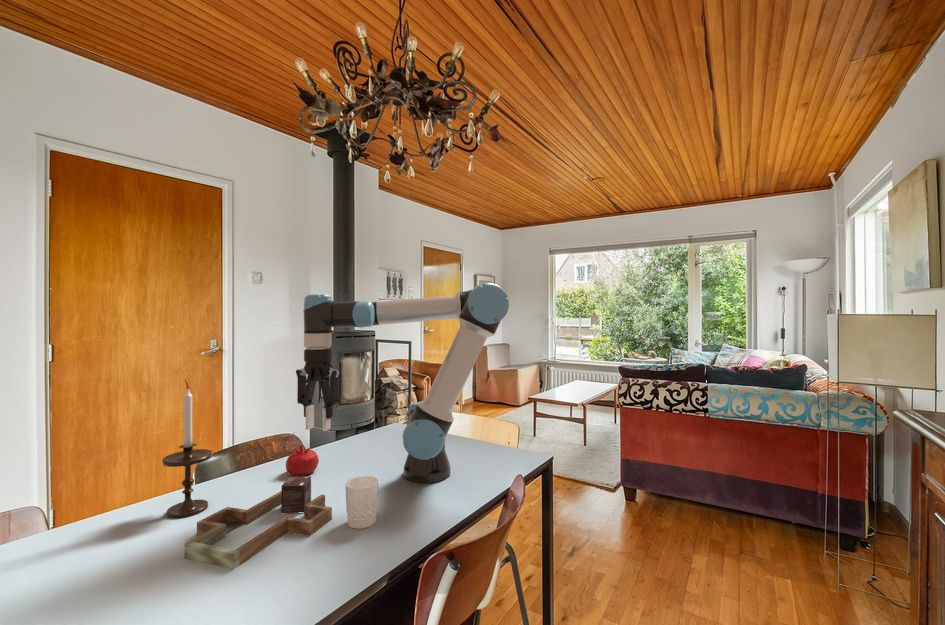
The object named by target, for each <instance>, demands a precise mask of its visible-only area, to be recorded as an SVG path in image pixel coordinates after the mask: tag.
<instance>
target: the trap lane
mask: <svg viewBox="0 0 945 625" xmlns="http://www.w3.org/2000/svg"><path fill="white" fill-rule="evenodd" d="M281 491H282V490H281ZM281 491H278V492H277V493H275V494H273V495H271V496H269V497H268V498H266V499H264V500H262V501H261V502H259V503H256V504H255V505H253V506H251V507H250V508H248V509H244V508H238V507H237V508H236V507H231V506H226V507H224V508H222V509H220V510H218V511H216V512H214V513H212V514H210V515H208V516H206V517H203V518H202V519H200V520H199V521H196V537H194V538H193V539H191V540H189V541H187V542H186V543H184V547H183V548H184V552H183V553H184V560H185V559H186V560H191V561H195V562H200V563H205V564H210V565H215V566H220V567H223V568H227V569H228V568H229V569H234V570H235V569H237V568H238V567H240V566H241V565H243V564H244V563H246V562H247V561H248V560H250V559H251V558H253V557H254V556H256V555H257V554H259V553H260V552H262V551H263V550H265V549H266V548H267V547H269V546H270V545H272V544H273V543H275V542H276V541H277V540H279V539H280V538H282V537H283V536H284V535H286V534H294V533H296V534H295V535H300V534H301V536H306V535H308V536H307V537H311V536H312V535H313V534H314V533H316V532H318V531H319V530H320V529H321V528H323V527H324V526H326V524H328V523H330V522H331V521H332V520H333V507H332V506H326V495H325V494H320V495H318V496H317V497H315V498H314V499H311V502H309V503H307V504H306V505H304V513H303V518H304V519H303V518H298V517H294V516H293V517H292V516H286V517H284V518H283V519H281V520H279V521H278V522H277V523H275V524H273V525H271V526H270V527H268V528H267V529H265V530H264V531H262V532H261V533H259V534H257V535H256V536H255V537H252V538H251V539H250V540H248V541H245V542H244V544H242V545H240V546H239V547H237V548H236V549H233V548H227V547H223V546H222V547H221V546H217V545H216V544H217V543H218V542H220V541H222V540H224V539H226V537H227V535H228V534H229V533H231V532H232V531H235V530H236V529H237V528H239V527H241V526H242V525H245V526H247V525H249V524H251V523H253V522H254V521H256V520H258V519H259V518H261V517H263V516H264V514H265V515H266V514H268V513H270V512H271V511H273V510H275V509H276V508H278V507H281ZM323 525H324V526H323ZM319 528H320V529H319ZM318 529H319V530H318ZM288 532H289V533H288ZM310 535H311V536H310Z"/></svg>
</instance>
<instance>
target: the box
mask: <svg viewBox="0 0 945 625" xmlns="http://www.w3.org/2000/svg"><path fill="white" fill-rule="evenodd" d="M311 501H312V476H309V475H308V476H298V477H296V476H292V477H291V476H290V477H289V476H288V478H287V479H286V480H285V481H284V483H283V484H281V505H280V507H281V508H280V510H281V512H280V513H281V514H282V513H283V514H284V513H287V514H299V513H298V512H304V505H306V504H307V503H309V502H311ZM283 514H282V515H283Z"/></svg>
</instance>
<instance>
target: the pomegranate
mask: <svg viewBox="0 0 945 625" xmlns="http://www.w3.org/2000/svg"><path fill="white" fill-rule="evenodd" d="M298 447H299V449H296V448H294V449H292V451H291V454H290V455H288V456H287V459H286V462H285V469H286V472H287V473H288V475H289V476H292V477H305V476H306V475H308V474H312V473H314V472H315V470H316V469H317V467H318V464H319V463H320V460H319V459H320V458H319V456H318V454H317V452H316V451H314V450H313V449H314V448H312V447H307V449H304V448H305V446H304V447H303V444H300V445H298Z"/></svg>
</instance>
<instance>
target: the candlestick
mask: <svg viewBox="0 0 945 625" xmlns="http://www.w3.org/2000/svg"><path fill="white" fill-rule="evenodd" d="M184 382H185V385H186V386H185V387H186V391H185V394H183V444H182V445H179V446H178V448H179V449H183V450H182V451H177V452H174V453H171V454H168V455H166V456H165V457H163V458H162V465H163V466H165V467H170V468H171V467H173V468H175V467H184V479H183V480H182V481H181V485H182V486H183V488H184V490H182V492H181V493H182V494H183V495H184V500H183V501H181V502H179V503H175V504H174V505H172V506H170V507H169V508H168V509H167V510H166V517H167V518H169V519H184V518H185V519H186V518H190V517H192V516H196V515H199V514H201V513H203V512H204V511H206V510H207V509H208V508H209V502H208V501H207V500H205V499H192V493H193V492H194V488H192V485H194V483H195V479H194V478H192V466H193V465H196V464H200V463H203V462H205V461H208V460H210V459H211V458H212V457H213V451H212V450H211V449H205V448H203V449H202V448H200V449H199V448H198V449H196V448H195V449H194V448H193V447H196V446H197V445H198V443H193V394H192V393H191V391H190V387H191V386H190V382H189V381H188V379H187V378H185V380H184Z"/></svg>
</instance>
